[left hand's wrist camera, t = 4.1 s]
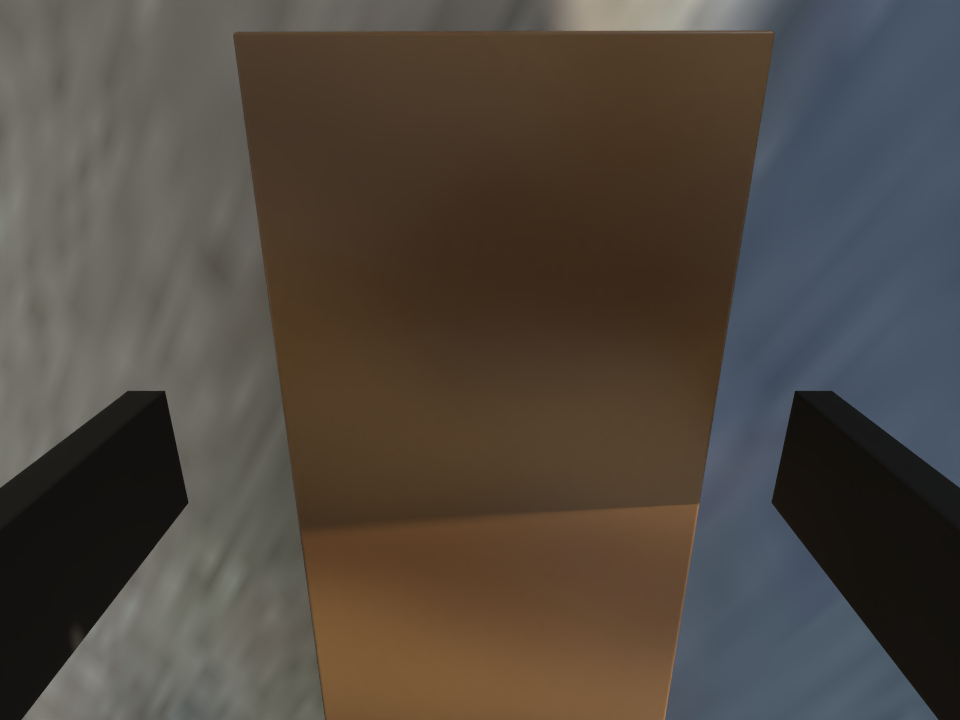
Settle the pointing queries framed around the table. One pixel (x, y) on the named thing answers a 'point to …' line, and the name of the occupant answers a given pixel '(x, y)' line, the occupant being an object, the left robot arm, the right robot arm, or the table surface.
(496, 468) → the wooden beam
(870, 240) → the table surface
